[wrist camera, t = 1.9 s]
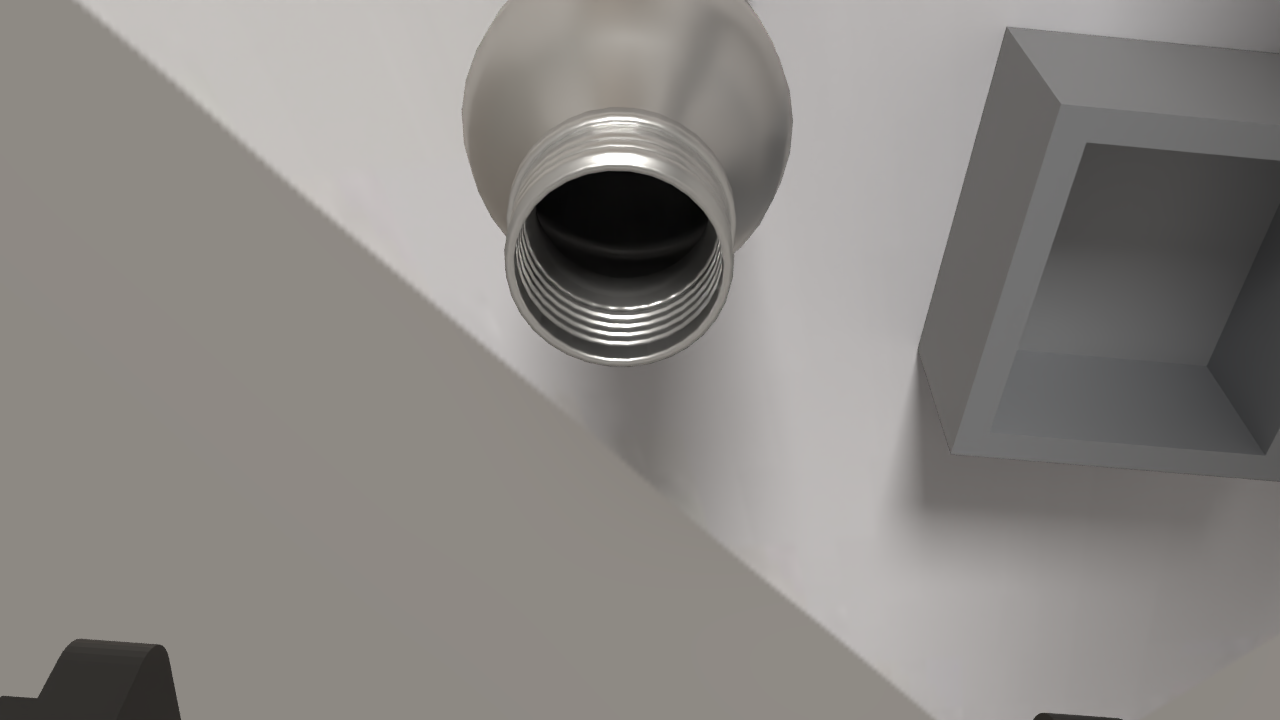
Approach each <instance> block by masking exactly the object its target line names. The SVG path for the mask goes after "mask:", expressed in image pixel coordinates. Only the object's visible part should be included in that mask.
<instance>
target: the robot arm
mask: <svg viewBox="0 0 1280 720" xmlns="http://www.w3.org/2000/svg"><path fill="white" fill-rule="evenodd" d="M0 720H181V718H180V712H179V707H178V702H177V697H176V692H175V687H174V682H173V677H172V671H171V666H170V662H169V657H168V653H167V651H166V649H165V648H164V647H163V646H162V645H158V644H144V643H130V642H116V641H103V640H90V639H76V640H74V641H73V642H71V643H70V644H69V645H68V646H67V647H66V648H65V650H64V651H63V652H62V654H61V656H60V657H59V659H58V661H57V663H56V665H55V667H54V669H53V671H52V672H51V674H50V676H49V678H48V680H47V682H46V684H45V685H44V687H43V689H42V691H41V693H40V695H39V697H38V698H24V697H11V696H1V697H0ZM1033 720H1122V719H1119V718H1107V717H1094V716H1080V715H1066V714H1053V713H1040V714H1038V715H1037V716H1036V717H1035V718H1034V719H1033Z"/></svg>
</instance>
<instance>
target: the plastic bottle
mask: <svg viewBox="0 0 1280 720" xmlns="http://www.w3.org/2000/svg"><path fill="white" fill-rule="evenodd" d="M462 123H463V137H464V145H465V149H466V153H467V156H468V160H469V163H470V167H471V171H472V174H473V177H474V180H475V183H476V186H477V189H478V192H479V194H480V196H481V198H482V200H483V202H484V204H485V206H486V208H487V210H488V211H489V213H490V215H491V217H492V219H493V220H494V221H495V223H496V224H497V225H498V227H499V228H500V229H501V231H502V232H503V233H504V234H505V236H506V243H505V249H504V254H505V271H506V278H507V281H508V285H509V288H510V292H511V296H512V298H513V300H514V302H515V304H516V306H517V308H518V310H519V312H520V313H521V315H522V316H523V318H524V319H525V320H526V321H527V323H528V324H529V325H530V326H531V328H532V329H533V330H534V331H535V332H536V333H537V334H538V335H540V336H541V337H542V338H543V339H544V340H545V341H546V342H548V343H549V344H550V345H552V346H554V347H555V348H557V349H559V350H560V351H562V352H564V353H565V354H567V355H570V356H572V357H575V358H578V359H580V360H583V361H585V362H589V363H594V364H599V365H604V366H620V367H630V366H637V365H645V364H650V363H653V362H657V361H660V360H663V359H666V358H669V357H671V356H673V355H675V354H677V353H678V352H680V351H682V350H684V349H686V348H688V347H689V346H690V345H691V344H693V343H694V342H695V341H696V340H698V339H699V338H700V337H701V336H703V335H704V333H705V332H706V331H707V330H708V329H709V327H710V326H711V325H712V324H713V323H714V322H715V320H716V319H717V317H718V315H719V313H720V311H721V310H722V308H723V306H724V304H725V302H726V298H727V295H728V292H729V288H730V285H731V281H732V278H733V265H734V253H735V252H736V251H737V250H738V249H740V248H741V247H742V245H743V244H744V243H745V242H746V241H747V239H748V238H749V237H750V236H751V234H752V233H753V232H754V231H755V230H756V228H757V227H758V226H759V225H760V223H761V221H762V219H763V217H764V215H765V213H766V212H767V210H768V208H769V206H770V204H771V202H772V200H773V198H774V196H775V194H776V192H777V190H778V188H779V185H780V183H781V181H782V177H783V174H784V171H785V167H786V164H787V161H788V158H789V154H790V147H791V136H792V126H793V118H792V108H791V99H790V90H789V87H788V84H787V80H786V77H785V74H784V71H783V68H782V65H781V62H780V59H779V56H778V54H777V52H776V49H775V47H774V44H773V42H772V40H771V38H770V37H769V35H768V33H767V31H766V30H765V28H764V26H763V24H762V22H761V21H760V19H759V17H758V15H757V14H756V13H755V12H754V10H753V9H752V7H751V6H750V4H749V3H748V2H747V0H508V1H507V2H506V3H505V4H504V5H503V6H502V7H501V9H500V11H499V12H498V14H497V16H496V17H495V19H494V20H493V22H492V24H491V25H490V27H489V29H488V30H487V32H486V34H485V35H484V37H483V39H482V41H481V43H480V45H479V47H478V48H477V50H476V53H475V56H474V58H473V61H472V64H471V67H470V70H469V73H468V76H467V78H466V83H465V90H464V98H463V106H462Z"/></svg>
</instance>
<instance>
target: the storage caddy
mask: <svg viewBox="0 0 1280 720" xmlns="http://www.w3.org/2000/svg"><path fill="white" fill-rule="evenodd" d="M918 352H919V355H920V358H921V361H922V364H923V367H924V371H925V374H926V377H927V380H928V383H929V386H930V390H931V393H932V396H933V399H934V402H935V405H936V409H937V412H938V415H939V418H940V421H941V424H942V428H943V431H944V434H945V437H946V440H947V443H948V447H949V450H950V453H951V454H954V455H966V456H978V457H990V458H1002V459H1014V460H1026V461H1038V462H1050V463H1062V464H1074V465H1086V466H1098V467H1110V468H1122V469H1134V470H1146V471H1158V472H1170V473H1182V474H1194V475H1206V476H1218V477H1230V478H1242V479H1254V480H1266V481H1278V482H1280V54H1276V53H1266V52H1256V51H1246V50H1235V49H1225V48H1215V47H1205V46H1195V45H1185V44H1175V43H1164V42H1154V41H1144V40H1134V39H1124V38H1114V37H1104V36H1094V35H1083V34H1073V33H1063V32H1053V31H1043V30H1033V29H1023V28H1013V27H1007V28H1006V32H1005V35H1004V39H1003V42H1002V46H1001V50H1000V53H999V57H998V61H997V64H996V68H995V71H994V75H993V79H992V82H991V86H990V90H989V93H988V97H987V100H986V104H985V108H984V111H983V115H982V119H981V122H980V126H979V129H978V133H977V137H976V140H975V144H974V148H973V151H972V155H971V158H970V162H969V166H968V169H967V173H966V177H965V180H964V184H963V187H962V191H961V195H960V198H959V202H958V206H957V209H956V213H955V216H954V220H953V224H952V227H951V231H950V235H949V238H948V242H947V245H946V249H945V253H944V256H943V260H942V264H941V267H940V271H939V274H938V278H937V282H936V285H935V289H934V293H933V296H932V300H931V303H930V307H929V311H928V314H927V318H926V322H925V325H924V329H923V332H922V336H921V340H920V343H919V347H918Z"/></svg>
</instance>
